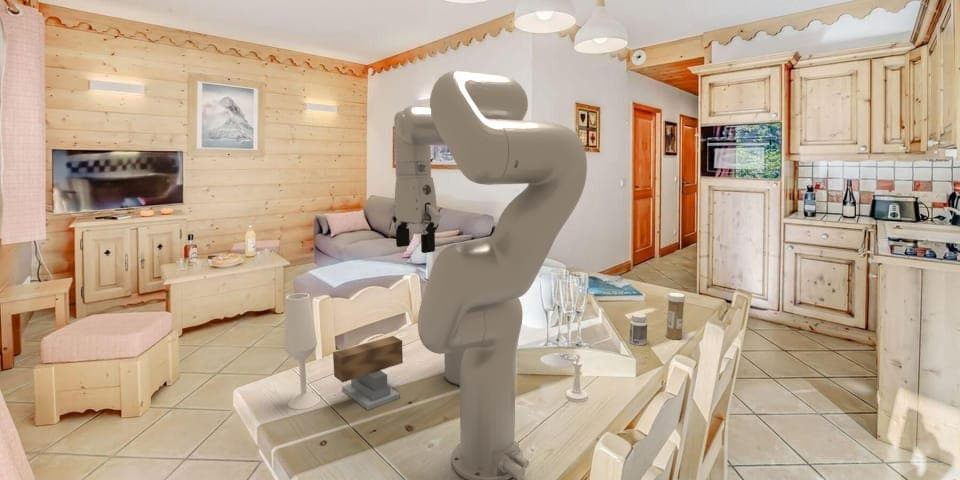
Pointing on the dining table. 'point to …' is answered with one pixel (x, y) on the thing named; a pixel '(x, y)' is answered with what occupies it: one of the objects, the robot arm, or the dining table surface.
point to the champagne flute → (300, 342)
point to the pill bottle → (638, 329)
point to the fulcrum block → (371, 390)
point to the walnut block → (367, 358)
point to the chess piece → (576, 384)
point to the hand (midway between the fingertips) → (415, 249)
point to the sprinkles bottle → (675, 315)
